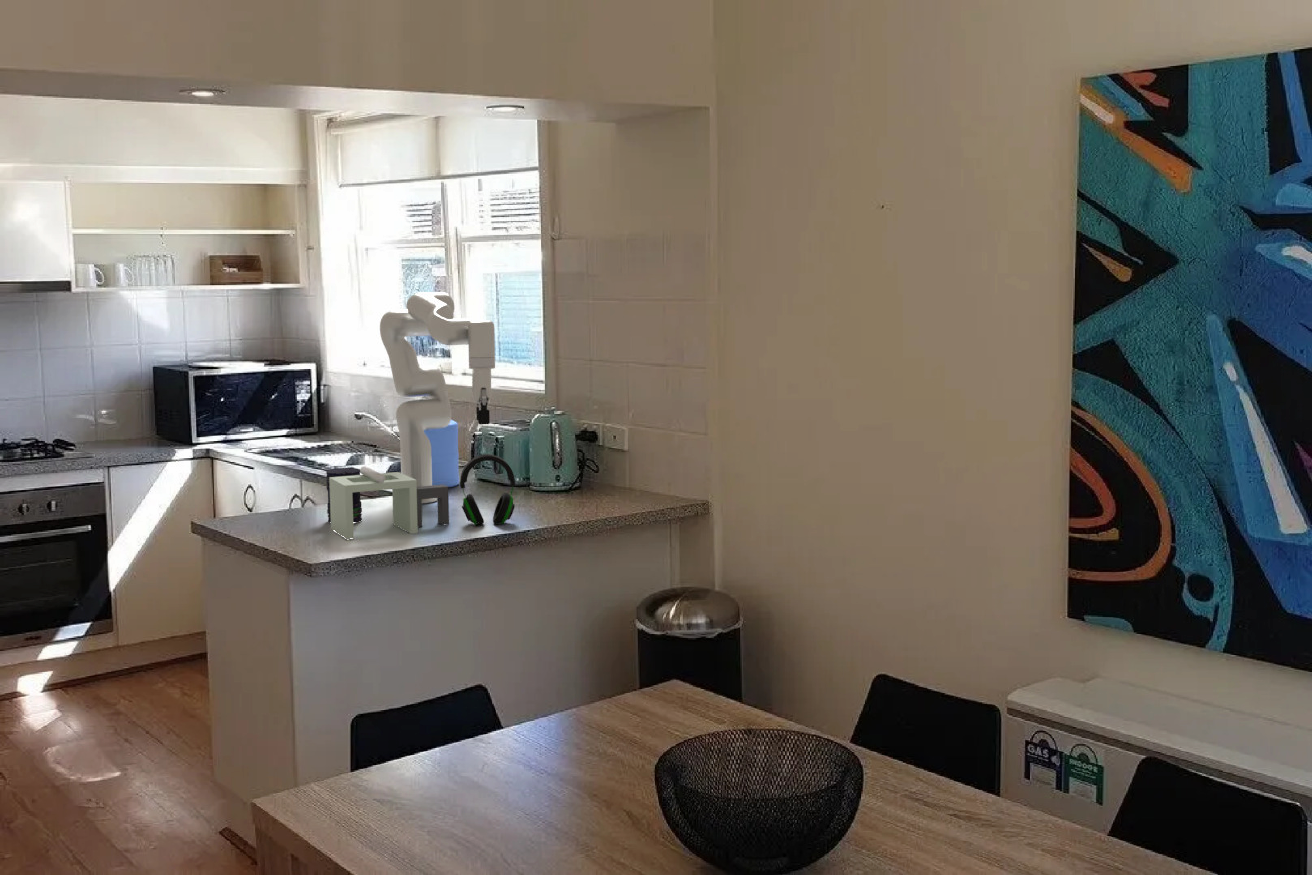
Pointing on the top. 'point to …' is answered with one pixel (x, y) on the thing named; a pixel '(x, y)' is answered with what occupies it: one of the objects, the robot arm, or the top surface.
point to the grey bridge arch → (442, 501)
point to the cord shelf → (372, 481)
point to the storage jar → (356, 495)
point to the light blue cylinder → (444, 454)
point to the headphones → (505, 501)
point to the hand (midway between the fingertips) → (483, 422)
